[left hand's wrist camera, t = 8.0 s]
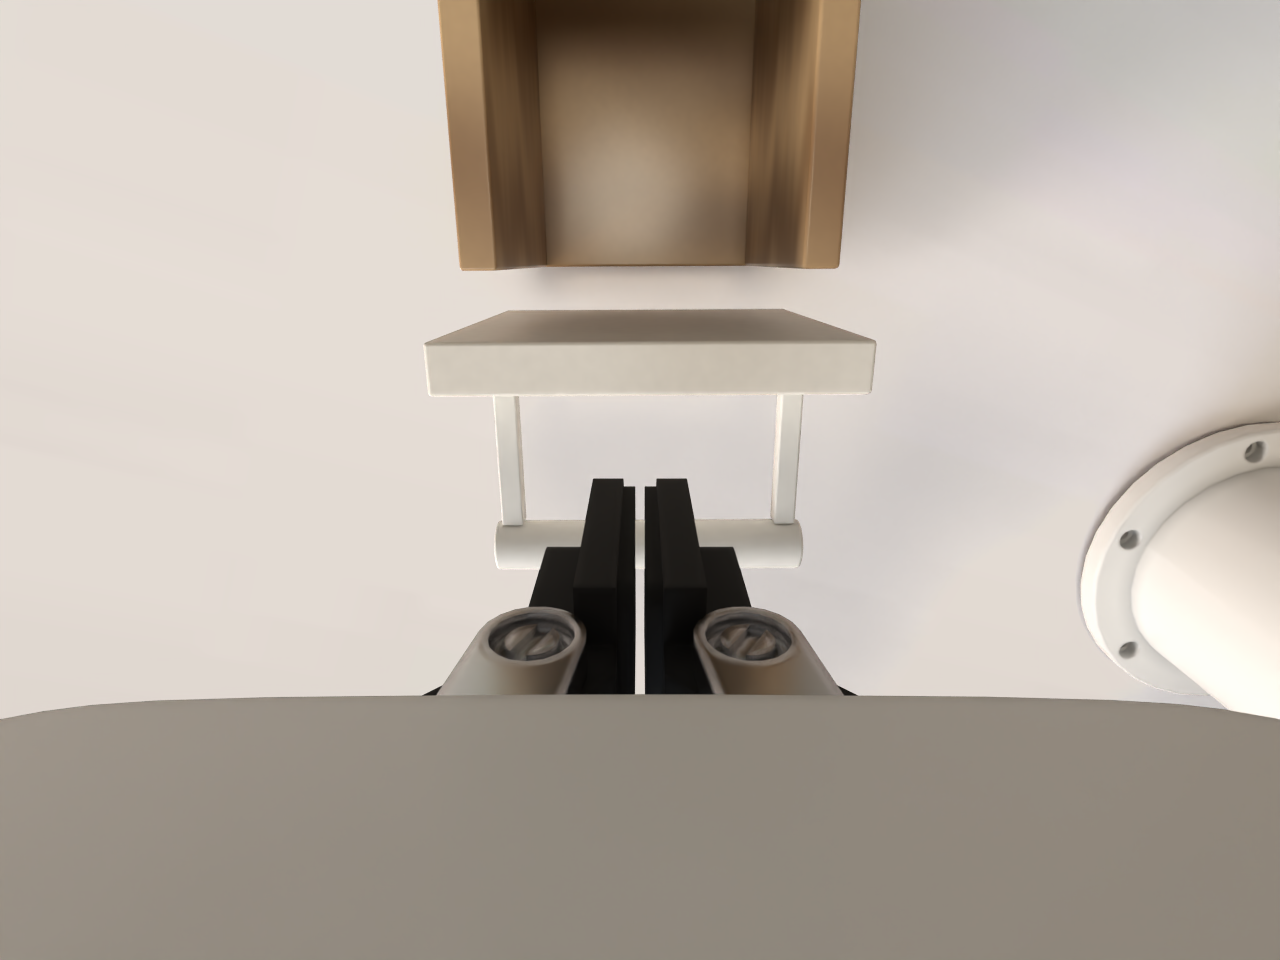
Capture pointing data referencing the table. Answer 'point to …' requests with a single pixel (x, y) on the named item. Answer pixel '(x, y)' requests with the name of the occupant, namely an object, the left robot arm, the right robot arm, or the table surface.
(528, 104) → the drawer
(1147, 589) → the left robot arm
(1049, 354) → the table surface
